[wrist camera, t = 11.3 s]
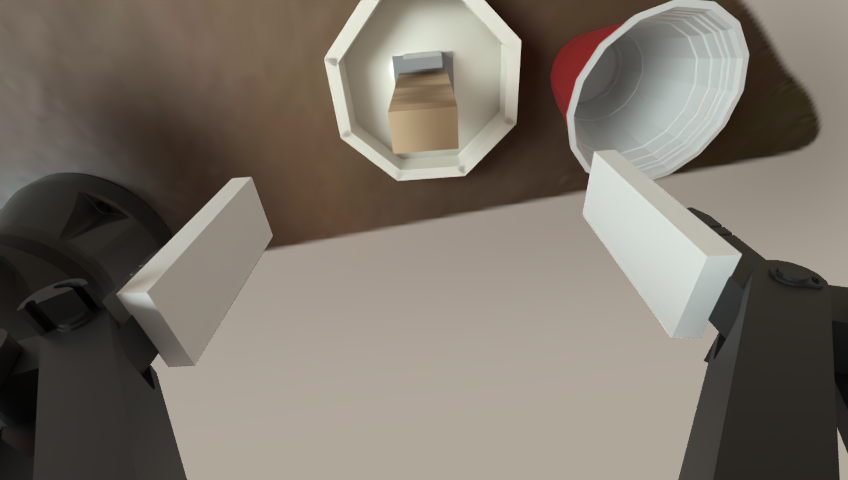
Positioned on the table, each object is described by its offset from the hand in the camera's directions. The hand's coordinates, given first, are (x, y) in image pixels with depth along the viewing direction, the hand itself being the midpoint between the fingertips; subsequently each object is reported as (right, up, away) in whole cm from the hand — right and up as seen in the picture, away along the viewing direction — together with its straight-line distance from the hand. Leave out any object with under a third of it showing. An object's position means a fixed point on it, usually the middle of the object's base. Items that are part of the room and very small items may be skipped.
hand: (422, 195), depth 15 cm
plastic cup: (+14, +13, +18) cm, 26 cm away
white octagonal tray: (0, +12, +18) cm, 22 cm away
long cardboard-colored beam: (0, +11, +17) cm, 21 cm away
